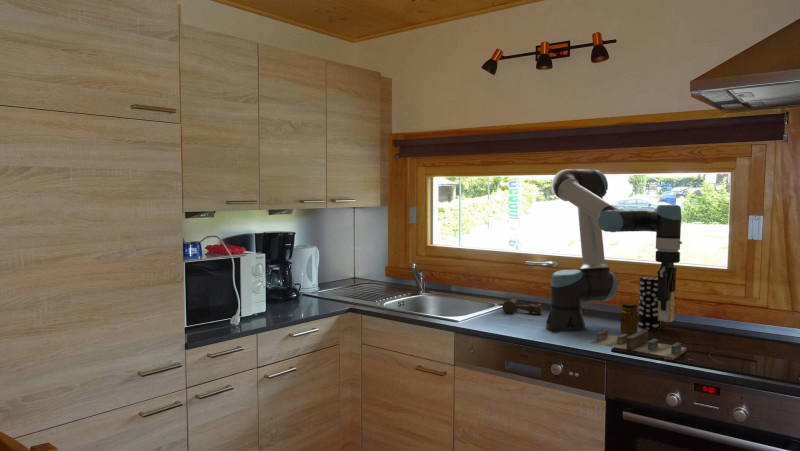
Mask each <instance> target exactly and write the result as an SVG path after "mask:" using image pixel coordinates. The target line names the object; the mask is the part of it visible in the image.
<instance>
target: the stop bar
mask: <svg viewBox="0 0 800 451" xmlns="http://www.w3.org/2000/svg"><path fill="white" fill-rule="evenodd" d="M674 297H676V290H675V291H669V292H668V301H669V314H668V321H665V320H659V309H660V301H658V321H661V322H665V323H672V322H673V321H675V299H674Z"/></svg>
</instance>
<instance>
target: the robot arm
mask: <svg viewBox="0 0 800 451" xmlns="http://www.w3.org/2000/svg"><path fill="white" fill-rule="evenodd" d="M608 185H609V184H608V179H607V177H606V175H605V174H604V173H603V172H602V171H600V170H598V169H591V168H589V169H588V168H585V169H584V168H579V169H578V168H572V169H571V168H566V169H562V170H560V171H558V172H557V173H556V174H555V175H554V176H553V178H552V180H551V191H552V192H553V194H554V195H555V196H556V197H557V198H558V199H560V200H562V202H563V201H564V202H569V203H571V204H572V205H574V206H575V207H576V208H577V214H578V215H577V216H578V226H579V236H580V245H581V246H580V247H581V260H582V265H581V266H580V268H579V269H562V270H557V271H555V272H553V273H552V275H551V280H550V286H551V288H550V289H551V290H550V291H551V292H550V311H549V313H548V316H547V319H546V323H545V329H547V331H550V332H555V333H560V332H582V331H584V330H586V322H585V319H584V315H583V313H582V303H591V302H604V301H609V300H611V299H612V298H613V297H615V295H616V293H617V290H618V280H617V276H616V275H615V274H614V273H613V272H612V271H610V266H609V265H607V264H606V260H605V259H606V258H605V248H604V239H603V232H607V233H608V232H609V233H619V232H620V233H621V232H622V233H624V232H627V233H628V232H651V233H652V232H653V233H654V232H655V233H656V234H655V249H656V250H655V260H654V261H656V262H658V263H660V267H659V270H657V278H658V299H657V300H658V301H660V309H659V320H665V321H668V314H669V301H668V292H669V291H675V292H676V284H677V281H676V280H677V279H676V278H677V270H678V269H677V268H678V267H675V264H677V263H680V262H681V252H680V251H679V250H681V245H682V244H683V242H682V241H681V234H682V232H681V231H682V230H681V229H682V228H681V227H682V208H681V206H680V205H678V204H659V205H657V206H656V210H655V209H654V210H653V209H620V208H618V207H616V206H614V205H613V204H612V203H610V202H608V201H607V200H605V199H604V197H605V196H606V194H607V191H608V189H609V186H608ZM676 299H677V296H675V297H674V300H676Z"/></svg>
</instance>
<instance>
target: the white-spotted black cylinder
mask: <svg viewBox="0 0 800 451" xmlns="http://www.w3.org/2000/svg"><path fill="white" fill-rule="evenodd" d="M638 288H639V289H638V291H639V292H638V327H639V328H640V329H644V330H650V331H654V330H655V331H656V330H661V322H662V321H658V300H657V299H658V276H657V277H655V276H640V277H639V287H638ZM638 327H637V328H638Z"/></svg>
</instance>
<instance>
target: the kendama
mask: <svg viewBox="0 0 800 451" xmlns="http://www.w3.org/2000/svg"><path fill="white" fill-rule="evenodd" d="M497 305H498V306H500V307H501V306H502V310H503V312H504V313H505V314H508V315H509V314H510V315H511V314H512V315H513V314H514V313H515V312H516V311H518V310H523V311H527V312H529V313H530V314H532V313H534V314H537V315H539V316H540V315H541V314H542V313H543V312H542V311H543V305H542V303H538V304H533V303H529V304H522V305H521V304H520V302H519V300H518V299H516V298H510V299H508V300H506V301H504V302H503V303H497Z"/></svg>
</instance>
